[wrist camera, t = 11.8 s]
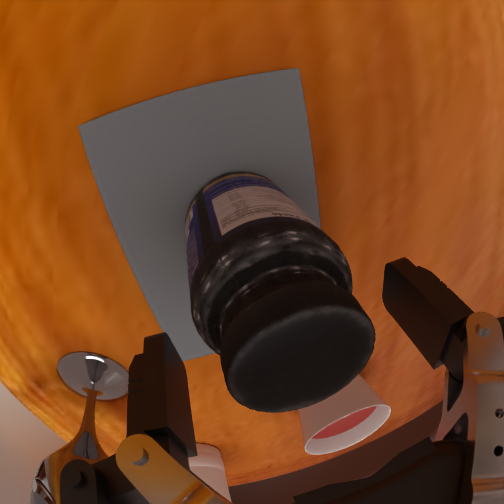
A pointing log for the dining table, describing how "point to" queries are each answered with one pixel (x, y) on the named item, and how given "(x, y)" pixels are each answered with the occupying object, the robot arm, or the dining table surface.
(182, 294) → the place mat
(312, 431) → the candle
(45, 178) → the dining table surface
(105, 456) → the wine glass
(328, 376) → the pill bottle
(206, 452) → the bottle
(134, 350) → the dining table surface
